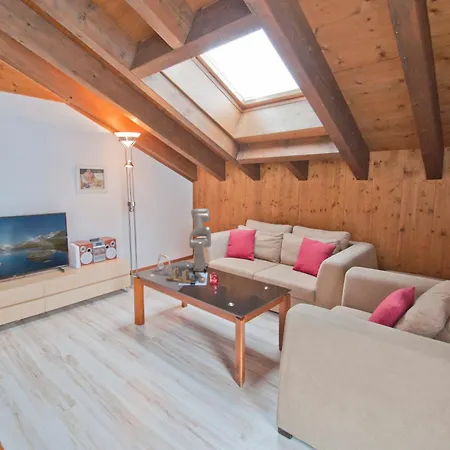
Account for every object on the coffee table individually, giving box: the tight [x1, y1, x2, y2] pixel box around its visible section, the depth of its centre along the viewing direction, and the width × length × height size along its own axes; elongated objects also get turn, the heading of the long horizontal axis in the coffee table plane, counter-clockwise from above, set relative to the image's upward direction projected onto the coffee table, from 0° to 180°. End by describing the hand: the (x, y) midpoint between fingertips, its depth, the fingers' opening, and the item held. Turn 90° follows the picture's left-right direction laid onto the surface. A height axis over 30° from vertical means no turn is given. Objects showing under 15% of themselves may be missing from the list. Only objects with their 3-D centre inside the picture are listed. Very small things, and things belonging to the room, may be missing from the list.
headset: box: [156, 253, 173, 276], centre depth 311 cm, size 20×7×18 cm, turn 42°
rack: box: [165, 265, 196, 285], centre depth 290 cm, size 10×24×12 cm, turn 65°
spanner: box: [194, 271, 206, 284], centre depth 294 cm, size 22×6×3 cm, turn 21°
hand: (199, 274), depth 292 cm, fingers open, 9 cm apart
